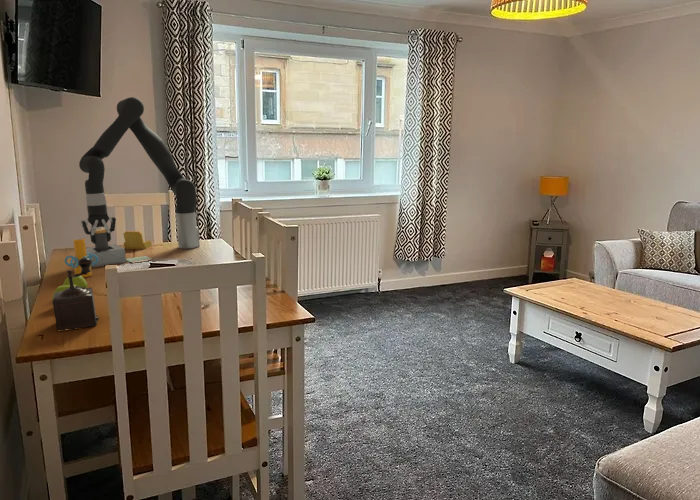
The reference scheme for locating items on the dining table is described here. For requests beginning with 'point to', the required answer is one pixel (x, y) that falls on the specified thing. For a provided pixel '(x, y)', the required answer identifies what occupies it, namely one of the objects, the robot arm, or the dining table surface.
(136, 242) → the yellow piece
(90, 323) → the coffee grinder
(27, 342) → the dining table surface
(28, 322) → the dining table surface
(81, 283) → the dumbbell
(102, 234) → the plug
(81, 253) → the yellow blue looped piece
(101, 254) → the housing
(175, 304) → the dining table surface
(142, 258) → the mat
